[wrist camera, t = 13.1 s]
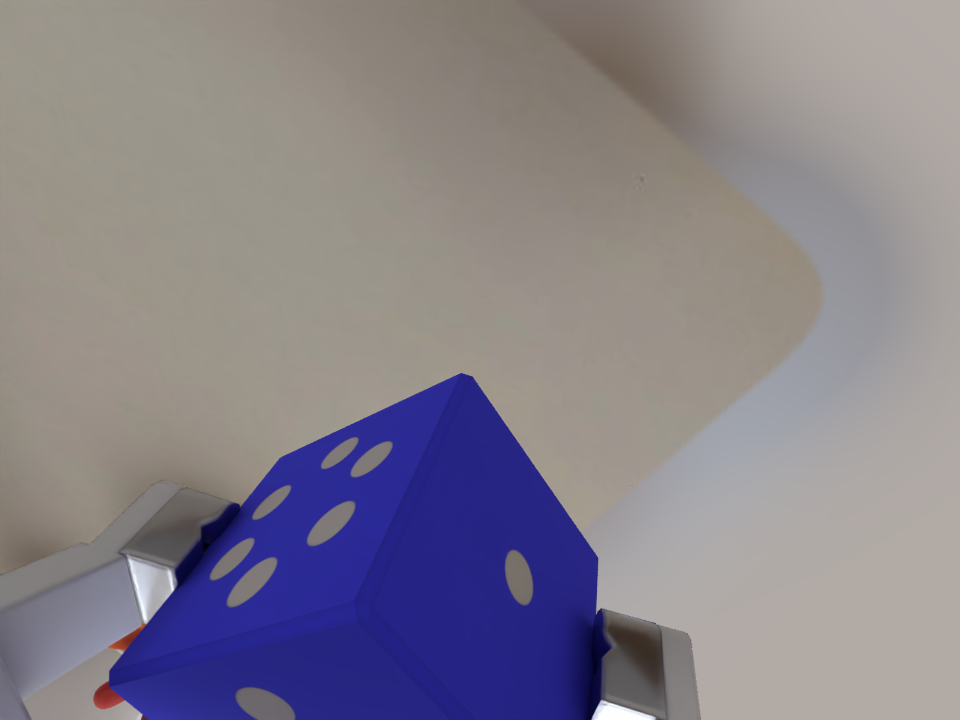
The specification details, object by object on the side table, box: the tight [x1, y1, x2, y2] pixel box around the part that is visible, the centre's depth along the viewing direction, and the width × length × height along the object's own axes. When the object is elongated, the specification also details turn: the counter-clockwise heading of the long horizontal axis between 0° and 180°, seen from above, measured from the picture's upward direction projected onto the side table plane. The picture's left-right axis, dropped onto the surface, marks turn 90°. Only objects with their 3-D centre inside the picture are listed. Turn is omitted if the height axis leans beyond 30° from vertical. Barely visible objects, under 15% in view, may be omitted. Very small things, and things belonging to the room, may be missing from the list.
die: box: [109, 373, 598, 720], centre depth 10 cm, size 5×5×5 cm
